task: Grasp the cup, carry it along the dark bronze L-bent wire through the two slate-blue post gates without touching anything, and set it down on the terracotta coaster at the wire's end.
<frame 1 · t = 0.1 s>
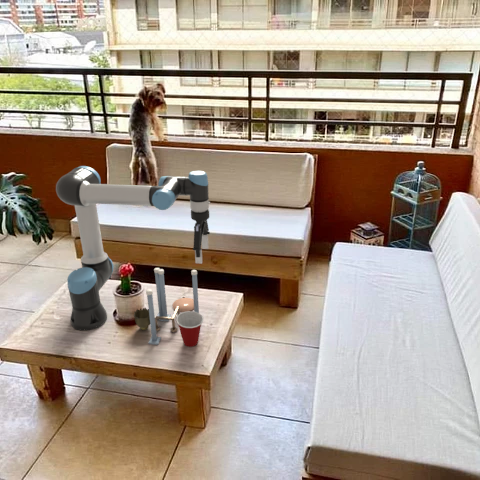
hand: (202, 255, 190), 28 cm above the table, fingers open, 13 cm apart
gate a: (160, 329, 189), on the table
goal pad: (184, 305, 205), on the table
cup: (144, 328, 190), on the table
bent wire: (174, 330, 188), on the table
gate b: (179, 318, 196), on the table
plastic cup: (191, 342, 181), on the table
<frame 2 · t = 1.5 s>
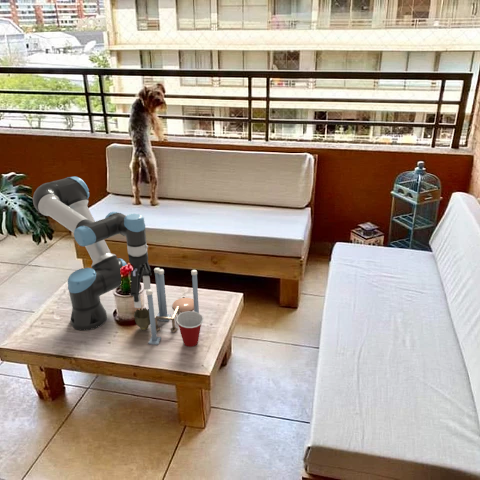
hand: (142, 298, 184), 15 cm above the table, fingers open, 13 cm apart
nothing on the table moved.
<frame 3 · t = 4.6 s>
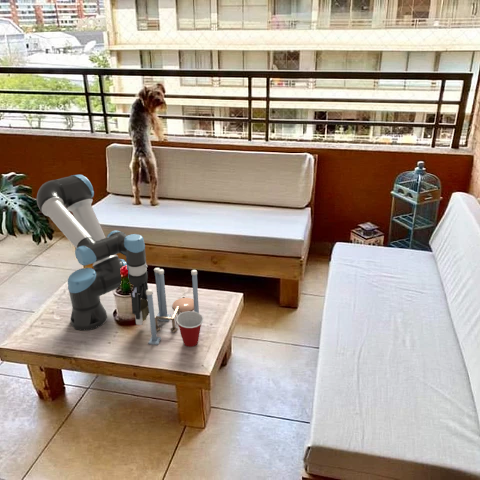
hand: (142, 318, 188), 5 cm above the table, fingers closed on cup, 7 cm apart
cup: (142, 319, 188), point 4 cm above the table, touching gripper
everything else where it was.
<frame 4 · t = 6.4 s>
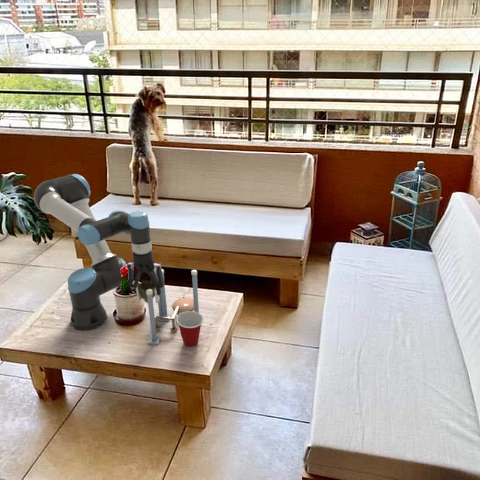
hand: (148, 300, 183), 15 cm above the table, fingers closed on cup, 7 cm apart
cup: (148, 301, 183), point 14 cm above the table, touching gripper
everything else where it was.
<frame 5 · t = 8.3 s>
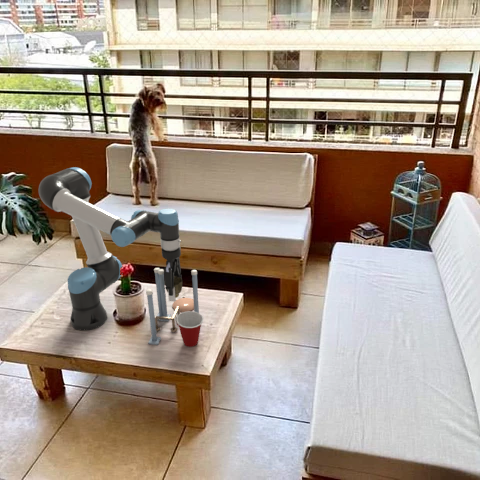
hand: (174, 295, 187), 14 cm above the table, fingers closed on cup, 7 cm apart
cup: (174, 296, 187), point 14 cm above the table, touching gripper
everything else where it was.
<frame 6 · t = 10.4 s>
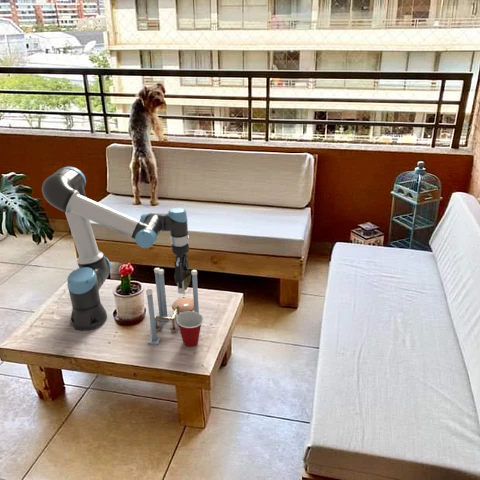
hand: (183, 288, 202), 9 cm above the table, fingers closed on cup, 7 cm apart
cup: (183, 289, 202), point 9 cm above the table, touching gripper
everything else where it was.
when the fingers open (2 cm above the table, at t = 12.1 s): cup moves 2 cm, resting on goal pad.
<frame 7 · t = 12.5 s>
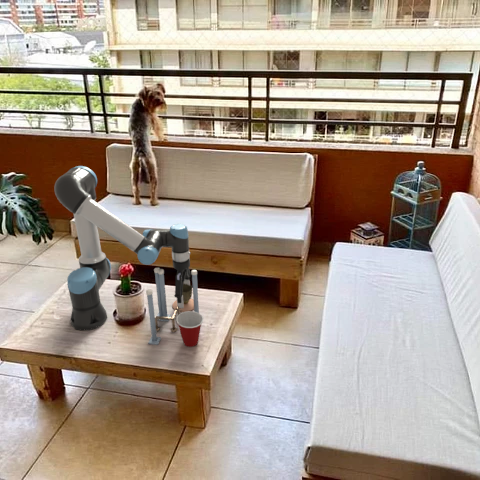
hand: (184, 299, 204), 3 cm above the table, fingers open, 13 cm apart
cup: (185, 302, 207), resting on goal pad
everything else where it was.
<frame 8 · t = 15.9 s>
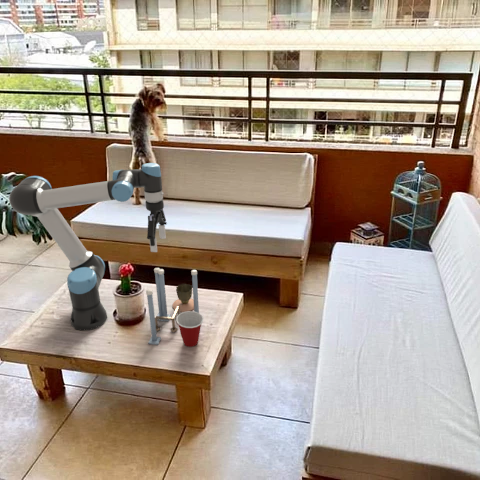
hand: (158, 244, 198), 29 cm above the table, fingers open, 13 cm apart
nothing on the table moved.
at the end: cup 1.6 cm from the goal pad (horizontally); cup tilted 0°; the gripper is holding nothing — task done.
